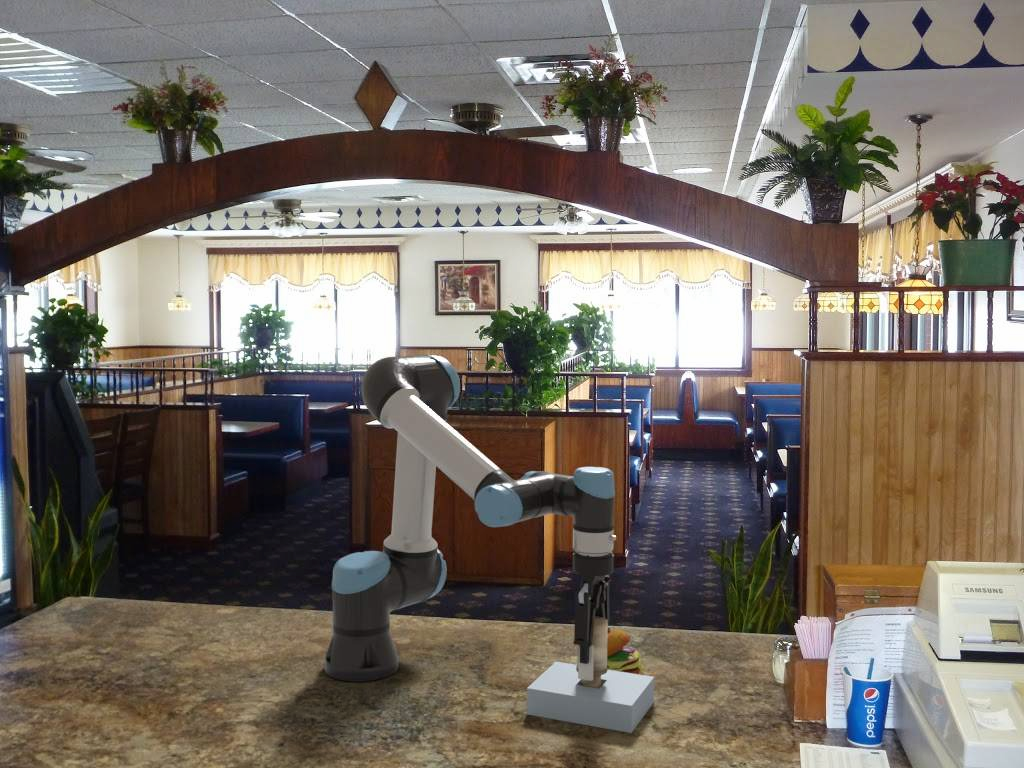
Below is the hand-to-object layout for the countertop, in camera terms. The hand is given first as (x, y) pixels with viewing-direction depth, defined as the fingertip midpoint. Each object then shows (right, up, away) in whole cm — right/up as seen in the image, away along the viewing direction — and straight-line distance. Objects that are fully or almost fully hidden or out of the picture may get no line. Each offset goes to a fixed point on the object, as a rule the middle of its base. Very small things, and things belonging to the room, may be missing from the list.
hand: (591, 672), depth 189 cm
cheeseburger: (+6, -6, +19) cm, 20 cm away
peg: (0, -4, 0) cm, 4 cm away
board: (0, -7, +1) cm, 7 cm away
